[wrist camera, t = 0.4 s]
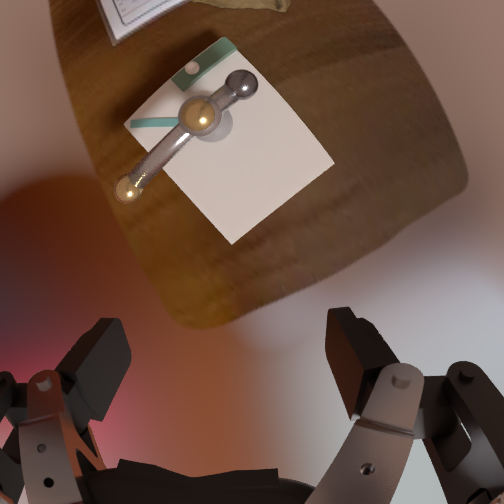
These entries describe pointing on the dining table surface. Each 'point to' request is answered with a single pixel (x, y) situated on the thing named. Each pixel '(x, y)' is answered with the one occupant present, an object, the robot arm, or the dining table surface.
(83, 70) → the dining table surface
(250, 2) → the rock
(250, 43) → the dining table surface
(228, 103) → the crank handle
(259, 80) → the stand
